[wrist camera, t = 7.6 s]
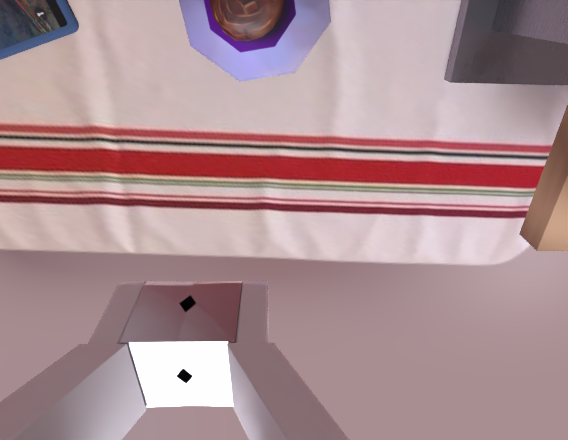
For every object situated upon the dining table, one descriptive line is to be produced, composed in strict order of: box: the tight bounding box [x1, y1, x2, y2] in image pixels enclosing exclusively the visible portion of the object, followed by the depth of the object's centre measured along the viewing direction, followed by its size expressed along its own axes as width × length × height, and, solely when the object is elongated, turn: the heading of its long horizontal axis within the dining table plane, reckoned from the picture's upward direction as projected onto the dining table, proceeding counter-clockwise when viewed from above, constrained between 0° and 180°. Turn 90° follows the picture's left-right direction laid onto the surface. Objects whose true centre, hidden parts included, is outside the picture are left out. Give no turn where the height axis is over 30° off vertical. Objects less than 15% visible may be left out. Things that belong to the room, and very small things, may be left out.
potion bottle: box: [179, 0, 331, 82], centre depth 22 cm, size 9×9×12 cm
